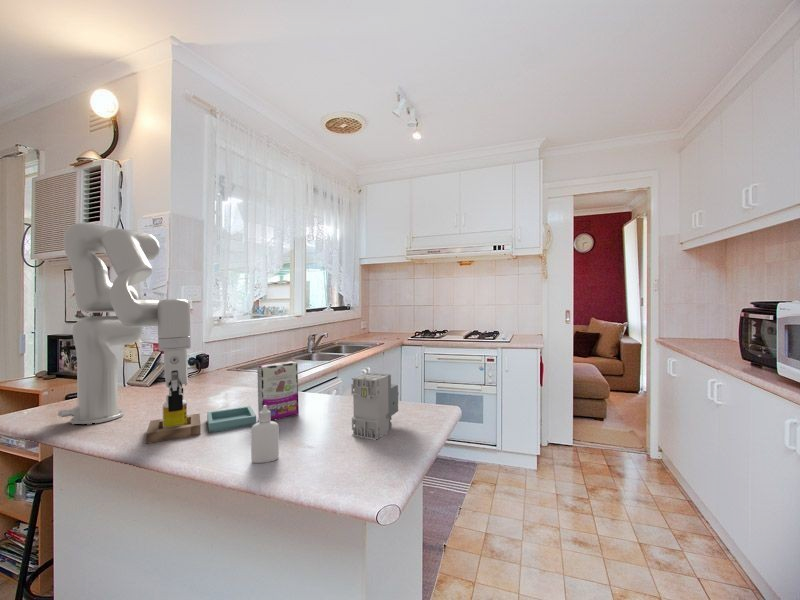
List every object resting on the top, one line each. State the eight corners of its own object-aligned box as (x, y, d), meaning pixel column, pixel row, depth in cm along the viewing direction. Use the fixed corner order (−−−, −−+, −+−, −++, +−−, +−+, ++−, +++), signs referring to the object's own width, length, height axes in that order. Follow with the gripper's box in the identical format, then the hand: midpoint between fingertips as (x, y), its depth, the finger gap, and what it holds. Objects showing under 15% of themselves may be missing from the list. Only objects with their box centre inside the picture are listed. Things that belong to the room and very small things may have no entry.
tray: (209, 432, 97) (209, 423, 97) (207, 420, 107) (207, 412, 107) (256, 424, 103) (256, 416, 103) (250, 413, 113) (250, 406, 113)
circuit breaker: (400, 422, 103) (400, 370, 103) (377, 440, 90) (376, 380, 90) (378, 419, 106) (377, 368, 106) (352, 435, 93) (351, 378, 93)
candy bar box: (292, 411, 115) (292, 360, 115) (299, 415, 111) (298, 362, 112) (257, 418, 108) (256, 364, 108) (262, 423, 104) (261, 366, 105)
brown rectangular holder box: (145, 443, 90) (145, 433, 90) (150, 429, 100) (150, 420, 100) (200, 434, 96) (200, 424, 96) (199, 421, 106) (199, 413, 106)
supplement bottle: (188, 432, 97) (188, 394, 98) (164, 437, 94) (163, 398, 94) (185, 427, 102) (184, 391, 102) (161, 431, 98) (161, 394, 98)
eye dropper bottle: (260, 454, 82) (259, 402, 82) (282, 456, 81) (281, 403, 81) (247, 462, 78) (247, 407, 78) (270, 465, 77) (270, 409, 77)
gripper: (190, 345, 92) (192, 411, 92) (190, 340, 107) (192, 398, 107) (155, 347, 89) (157, 417, 88) (160, 343, 104) (162, 402, 103)
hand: (176, 406), depth 98 cm, fingers open, 9 cm apart
